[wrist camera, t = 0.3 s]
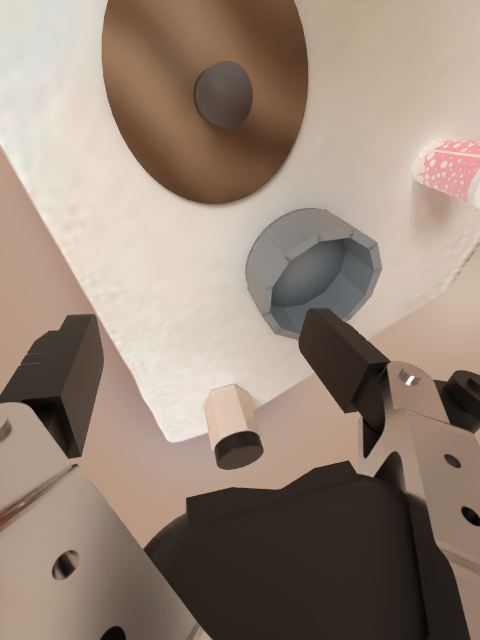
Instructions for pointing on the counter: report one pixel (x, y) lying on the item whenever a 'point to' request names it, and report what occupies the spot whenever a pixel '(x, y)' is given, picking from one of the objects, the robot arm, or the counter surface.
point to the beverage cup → (451, 169)
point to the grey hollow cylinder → (310, 269)
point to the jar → (232, 427)
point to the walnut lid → (206, 90)
